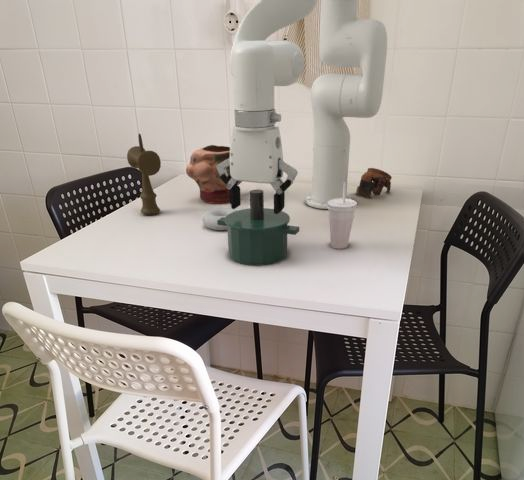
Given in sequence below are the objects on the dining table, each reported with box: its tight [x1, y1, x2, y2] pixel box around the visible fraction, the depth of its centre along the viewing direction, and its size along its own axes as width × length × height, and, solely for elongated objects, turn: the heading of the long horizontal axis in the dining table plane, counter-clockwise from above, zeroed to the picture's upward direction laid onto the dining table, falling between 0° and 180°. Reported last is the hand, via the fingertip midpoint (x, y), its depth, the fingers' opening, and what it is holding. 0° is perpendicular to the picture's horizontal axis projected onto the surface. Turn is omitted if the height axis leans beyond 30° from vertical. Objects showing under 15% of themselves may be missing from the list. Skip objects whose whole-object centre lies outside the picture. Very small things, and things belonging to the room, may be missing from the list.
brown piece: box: [355, 167, 393, 199], centre depth 144 cm, size 12×10×8 cm
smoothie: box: [327, 182, 358, 250], centre depth 109 cm, size 6×6×14 cm
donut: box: [201, 207, 238, 231], centre depth 125 cm, size 10×4×10 cm
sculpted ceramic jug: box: [185, 144, 243, 204], centre depth 142 cm, size 20×12×14 cm, turn 119°
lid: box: [225, 189, 291, 231], centre depth 104 cm, size 14×14×7 cm
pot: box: [217, 217, 300, 266], centre depth 108 cm, size 13×18×8 cm
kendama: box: [126, 133, 162, 216], centre depth 130 cm, size 6×10×20 cm, turn 32°
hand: (256, 209), depth 104 cm, fingers open, 9 cm apart
